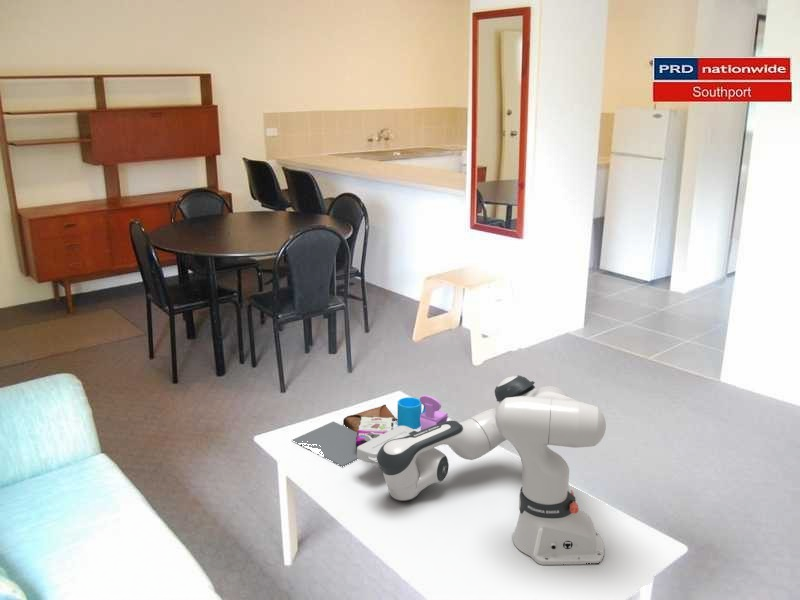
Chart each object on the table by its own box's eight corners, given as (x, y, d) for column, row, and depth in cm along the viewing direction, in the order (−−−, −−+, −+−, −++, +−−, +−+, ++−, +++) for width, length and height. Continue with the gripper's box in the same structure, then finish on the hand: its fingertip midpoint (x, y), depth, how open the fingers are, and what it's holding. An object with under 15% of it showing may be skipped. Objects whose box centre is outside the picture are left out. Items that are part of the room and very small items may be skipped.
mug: (408, 432, 234) (408, 409, 232) (392, 423, 240) (392, 401, 238) (434, 421, 242) (434, 399, 240) (418, 413, 248) (418, 392, 245)
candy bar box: (390, 456, 218) (394, 430, 234) (391, 442, 217) (394, 416, 232) (355, 454, 219) (360, 428, 234) (355, 440, 217) (360, 415, 233)
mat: (383, 446, 225) (383, 444, 225) (342, 467, 212) (342, 465, 212) (333, 422, 240) (333, 421, 240) (292, 441, 228) (291, 439, 228)
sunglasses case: (357, 434, 232) (350, 414, 233) (347, 437, 238) (341, 418, 239) (399, 419, 243) (393, 400, 244) (389, 422, 249) (383, 404, 250)
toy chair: (450, 433, 233) (451, 392, 229) (435, 443, 227) (436, 401, 222) (430, 426, 238) (430, 385, 234) (414, 436, 231) (415, 394, 227)
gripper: (377, 473, 199) (343, 457, 208) (423, 448, 214) (390, 434, 223) (377, 453, 197) (343, 438, 206) (423, 429, 212) (390, 415, 221)
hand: (367, 435), depth 214 cm, fingers closed
